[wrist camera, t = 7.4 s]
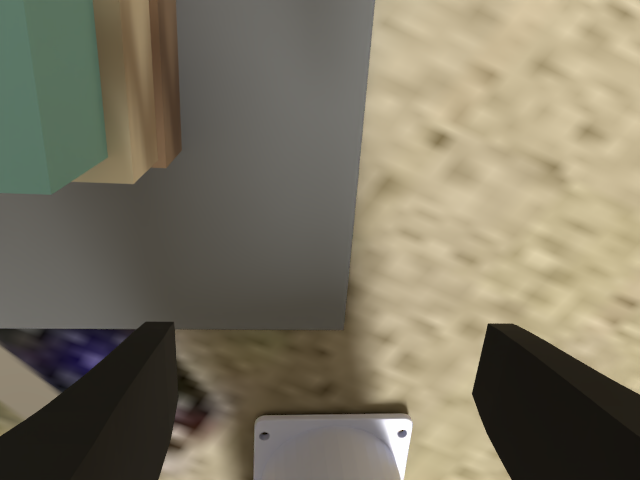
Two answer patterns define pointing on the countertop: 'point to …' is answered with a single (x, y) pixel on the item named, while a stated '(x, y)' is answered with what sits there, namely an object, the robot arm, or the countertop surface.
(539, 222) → the countertop surface
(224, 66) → the mat
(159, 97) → the tower base
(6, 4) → the teal block
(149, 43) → the tower mid
